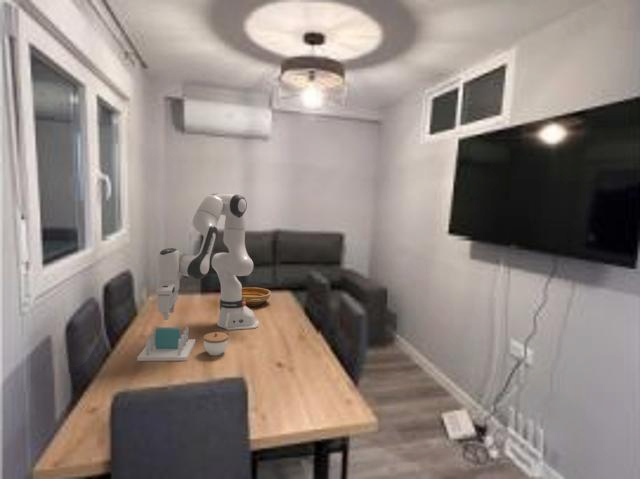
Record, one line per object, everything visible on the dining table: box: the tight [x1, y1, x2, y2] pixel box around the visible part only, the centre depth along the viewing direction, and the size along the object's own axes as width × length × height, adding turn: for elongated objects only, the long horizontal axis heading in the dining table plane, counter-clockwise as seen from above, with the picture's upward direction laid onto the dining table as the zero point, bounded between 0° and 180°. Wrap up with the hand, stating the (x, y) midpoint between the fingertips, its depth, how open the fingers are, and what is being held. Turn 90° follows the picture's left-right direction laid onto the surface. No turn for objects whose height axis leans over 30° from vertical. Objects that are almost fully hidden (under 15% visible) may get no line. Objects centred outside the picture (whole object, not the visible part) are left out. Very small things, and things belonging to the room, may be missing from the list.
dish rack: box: [136, 326, 196, 362], centre depth 172 cm, size 20×20×8 cm
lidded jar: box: [203, 331, 229, 357], centre depth 173 cm, size 11×11×9 cm
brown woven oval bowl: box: [242, 287, 272, 307], centre depth 252 cm, size 30×24×8 cm
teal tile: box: [155, 326, 182, 349], centre depth 172 cm, size 10×2×9 cm, turn 97°
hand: (169, 315), depth 171 cm, fingers open, 8 cm apart
